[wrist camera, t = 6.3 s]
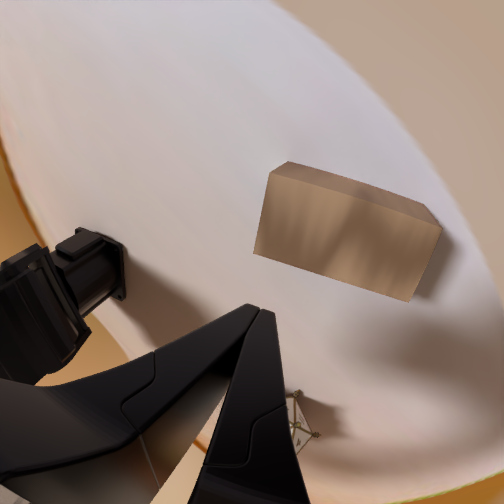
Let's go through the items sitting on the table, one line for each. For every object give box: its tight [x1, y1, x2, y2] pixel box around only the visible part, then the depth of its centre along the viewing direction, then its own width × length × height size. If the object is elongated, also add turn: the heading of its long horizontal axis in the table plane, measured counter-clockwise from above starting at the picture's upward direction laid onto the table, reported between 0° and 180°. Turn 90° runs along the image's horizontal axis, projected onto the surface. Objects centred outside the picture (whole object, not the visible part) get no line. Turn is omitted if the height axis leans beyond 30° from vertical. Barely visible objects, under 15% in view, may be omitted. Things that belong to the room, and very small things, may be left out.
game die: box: [286, 389, 321, 455], centre depth 24 cm, size 9×8×10 cm
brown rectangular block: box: [253, 161, 443, 303], centre depth 16 cm, size 4×4×9 cm
